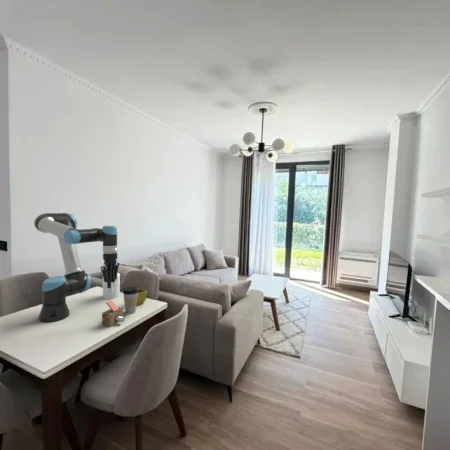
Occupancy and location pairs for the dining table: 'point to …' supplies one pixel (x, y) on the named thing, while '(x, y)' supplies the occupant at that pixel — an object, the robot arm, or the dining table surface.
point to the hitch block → (111, 317)
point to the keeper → (112, 305)
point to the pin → (119, 318)
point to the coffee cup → (130, 299)
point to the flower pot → (141, 296)
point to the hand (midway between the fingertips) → (110, 293)
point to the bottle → (116, 289)
